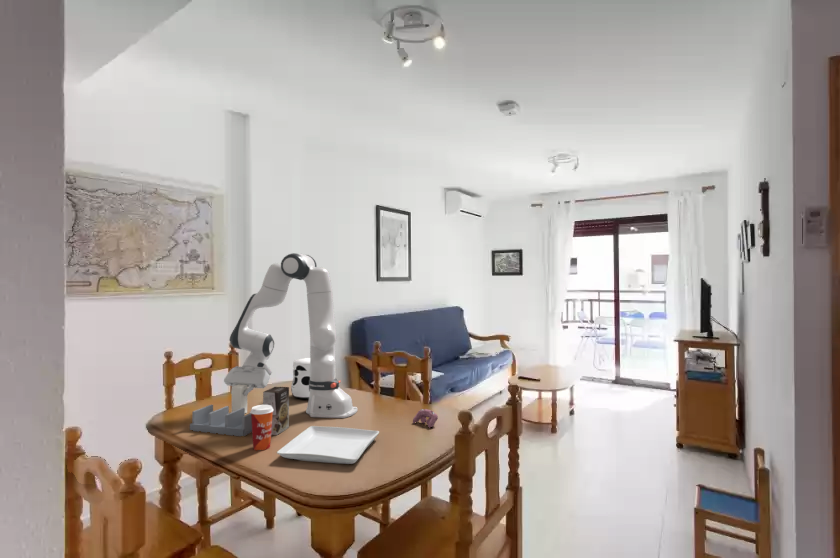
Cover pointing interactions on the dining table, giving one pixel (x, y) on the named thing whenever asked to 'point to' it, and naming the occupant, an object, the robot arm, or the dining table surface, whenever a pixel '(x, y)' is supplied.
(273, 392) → the coffee box
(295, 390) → the milk container
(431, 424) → the purple arched piece
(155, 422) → the dining table surface
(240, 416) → the rack
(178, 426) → the dining table surface
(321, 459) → the square plate
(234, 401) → the cream block
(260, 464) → the dining table surface
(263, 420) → the paper cup
